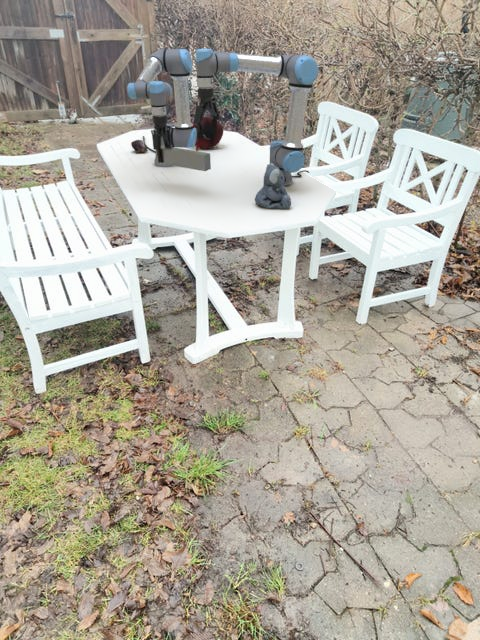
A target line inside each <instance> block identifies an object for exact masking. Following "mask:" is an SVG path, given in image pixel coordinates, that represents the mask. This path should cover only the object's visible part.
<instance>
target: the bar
mask: <svg viewBox="0 0 480 640" xmlns="http://www.w3.org/2000/svg"><path fill="white" fill-rule="evenodd" d="M158 148H159V147H158ZM161 150H162V156H163V163H162V164H167V165H173V166H172V167H179V168H184V169H190V170H196V171H201V172H202V171H203V172H207V171H209V170H211V168H212V167H211V166H212V165H211V164H212V163H211V153H210V152H204V151H198V150H197V151H196V150H193V149H187V148H180V147H167V146H161ZM155 151H156V153H155V156H156V157H157V163H160V162H158V156H157V150H155Z"/></svg>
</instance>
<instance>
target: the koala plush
mask: <svg viewBox="0 0 480 640" xmlns="http://www.w3.org/2000/svg"><path fill="white" fill-rule="evenodd" d="M285 182H286V177H284V176H283V173H282V172H281V171H280V169H279V168H278V167H275V166H274V164H271V163H270V162H269V163H267V165H266V168H265V172H264V175H263V186H262V188H260V189H259V190H258V191H257V193H256V194H255V197H254V202H255V204H256V205H257V206H261V207H262V208H264V209H280V210H284V209H289V208H291V207H292V201H291V196H290V194H288V192H287V189H286V186H282V185H283V184H284V183H285ZM281 186H282V187H281Z"/></svg>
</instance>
